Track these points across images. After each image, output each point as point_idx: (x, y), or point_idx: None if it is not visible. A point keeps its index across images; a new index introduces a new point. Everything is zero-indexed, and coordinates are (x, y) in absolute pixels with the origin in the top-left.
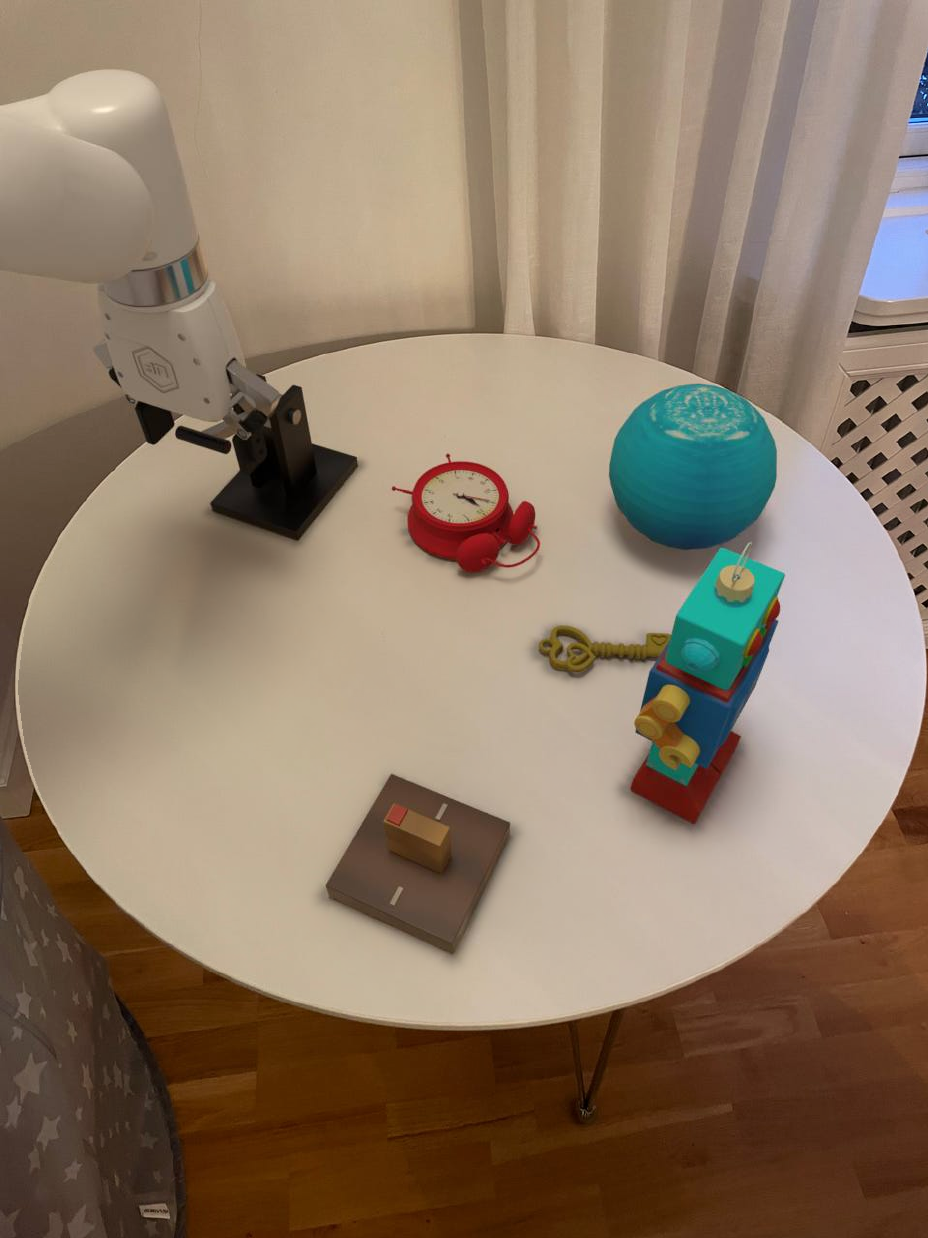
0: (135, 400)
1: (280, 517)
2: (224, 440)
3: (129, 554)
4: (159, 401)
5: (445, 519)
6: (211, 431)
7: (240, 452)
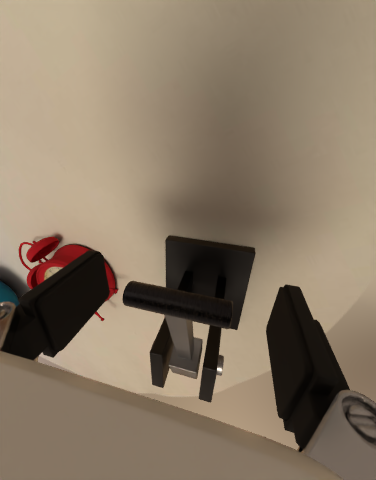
0: (341, 413)
1: (185, 251)
2: (126, 304)
3: (320, 172)
4: (112, 463)
5: (60, 268)
6: (173, 320)
7: (49, 277)
